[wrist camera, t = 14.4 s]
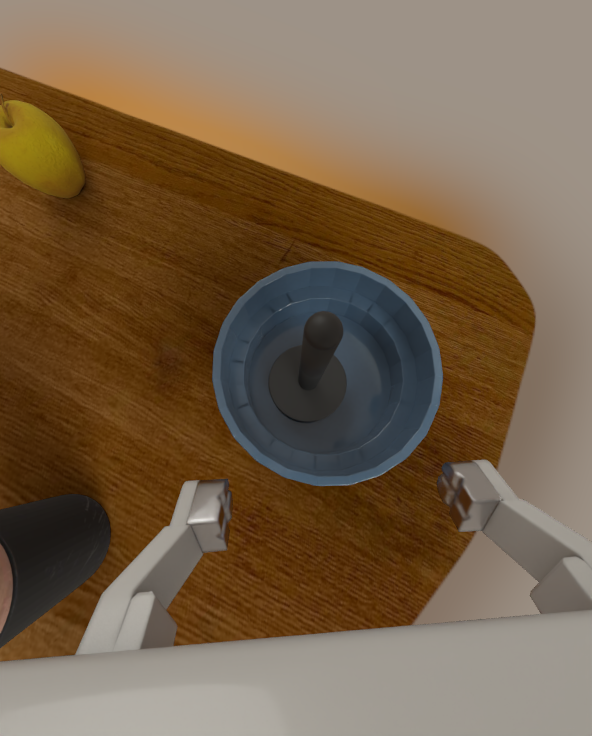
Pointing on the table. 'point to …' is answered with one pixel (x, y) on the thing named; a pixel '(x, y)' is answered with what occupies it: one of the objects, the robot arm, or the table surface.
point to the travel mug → (47, 556)
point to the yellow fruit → (38, 150)
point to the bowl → (361, 365)
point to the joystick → (310, 372)
